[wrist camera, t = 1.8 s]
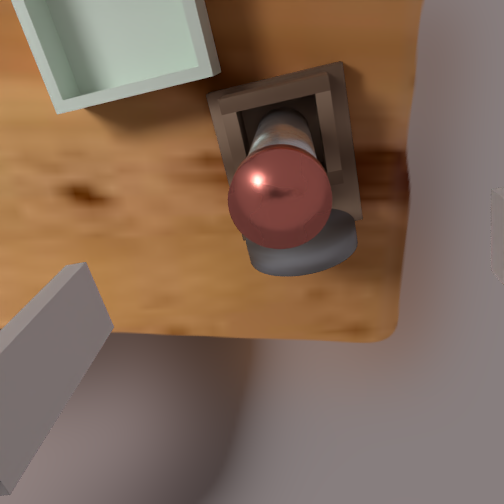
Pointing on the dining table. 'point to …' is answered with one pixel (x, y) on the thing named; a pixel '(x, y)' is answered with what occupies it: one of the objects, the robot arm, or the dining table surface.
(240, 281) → the dining table surface
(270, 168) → the pin
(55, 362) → the robot arm
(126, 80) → the tray
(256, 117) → the block
